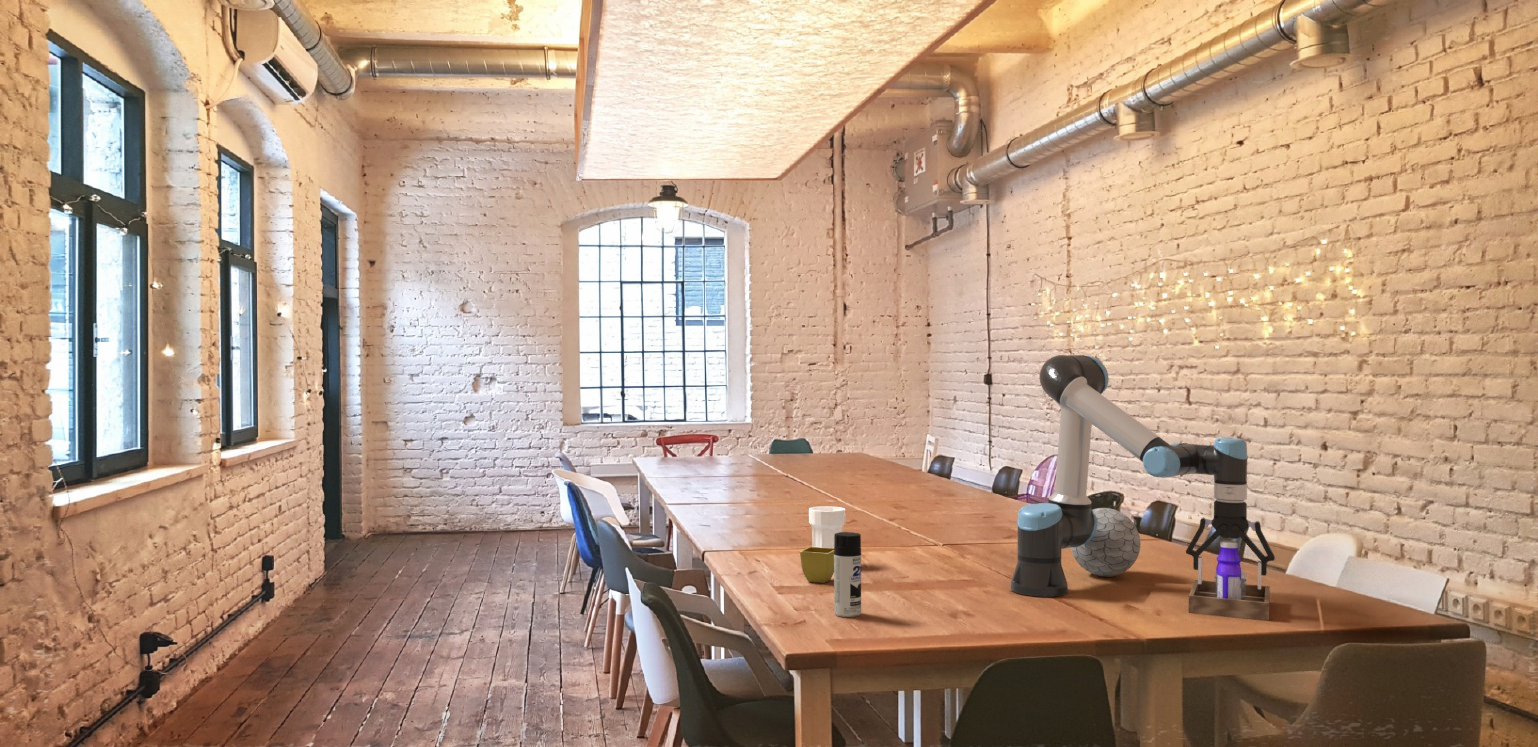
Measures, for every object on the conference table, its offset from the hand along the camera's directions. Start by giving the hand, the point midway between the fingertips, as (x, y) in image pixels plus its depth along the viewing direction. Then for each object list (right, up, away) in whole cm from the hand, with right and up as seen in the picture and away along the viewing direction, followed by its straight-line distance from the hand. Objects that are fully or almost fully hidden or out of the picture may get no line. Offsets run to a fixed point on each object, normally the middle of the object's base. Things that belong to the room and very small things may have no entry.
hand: (1229, 585), depth 265 cm
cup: (-97, -6, +62) cm, 115 cm away
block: (+4, -6, +9) cm, 12 cm away
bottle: (0, -7, 0) cm, 7 cm away
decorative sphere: (-16, -7, +48) cm, 51 cm away
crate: (+2, -7, +5) cm, 9 cm away
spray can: (-95, -7, -2) cm, 96 cm away
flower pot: (-100, -7, +38) cm, 108 cm away
